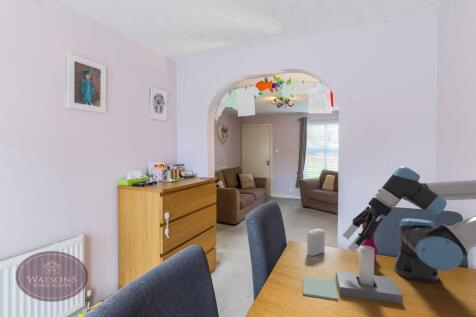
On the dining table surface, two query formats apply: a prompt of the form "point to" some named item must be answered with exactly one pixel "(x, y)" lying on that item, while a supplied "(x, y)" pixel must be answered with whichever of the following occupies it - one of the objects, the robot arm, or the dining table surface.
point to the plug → (366, 266)
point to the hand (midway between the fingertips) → (347, 243)
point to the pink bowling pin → (370, 243)
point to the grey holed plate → (368, 288)
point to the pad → (319, 288)
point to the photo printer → (315, 242)
